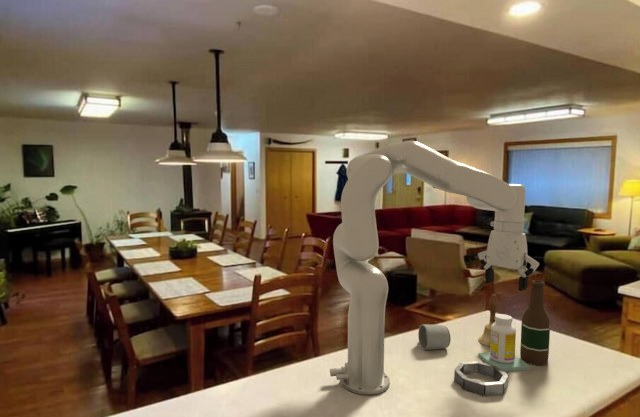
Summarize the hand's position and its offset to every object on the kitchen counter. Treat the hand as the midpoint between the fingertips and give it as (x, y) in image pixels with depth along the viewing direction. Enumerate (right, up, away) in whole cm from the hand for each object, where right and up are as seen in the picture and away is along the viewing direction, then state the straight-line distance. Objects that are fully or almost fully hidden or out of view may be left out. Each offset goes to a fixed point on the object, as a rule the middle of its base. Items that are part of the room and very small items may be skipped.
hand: (505, 286), depth 118 cm
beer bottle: (+10, -23, +4) cm, 25 cm away
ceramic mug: (-18, -22, +14) cm, 31 cm away
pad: (0, -23, +2) cm, 23 cm away
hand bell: (+3, -22, +17) cm, 28 cm away
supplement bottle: (0, -22, +2) cm, 22 cm away
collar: (-11, -24, -10) cm, 28 cm away
